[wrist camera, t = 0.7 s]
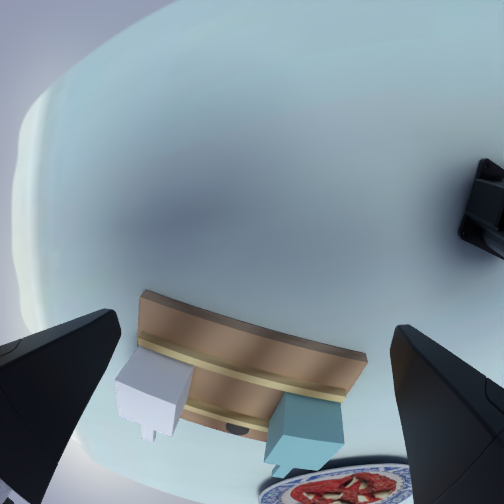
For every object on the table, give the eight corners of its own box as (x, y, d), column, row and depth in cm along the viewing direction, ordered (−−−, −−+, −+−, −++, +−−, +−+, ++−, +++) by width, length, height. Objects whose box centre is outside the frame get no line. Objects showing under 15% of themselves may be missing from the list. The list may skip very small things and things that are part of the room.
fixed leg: (195, 362, 23) (176, 404, 19) (184, 419, 27) (169, 455, 22) (141, 342, 23) (114, 379, 19) (140, 402, 27) (121, 435, 22)
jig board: (365, 353, 23) (370, 370, 21) (305, 441, 28) (305, 456, 26) (146, 289, 23) (134, 302, 21) (141, 393, 28) (133, 407, 26)
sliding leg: (339, 399, 23) (344, 443, 18) (302, 448, 26) (301, 486, 21) (286, 388, 23) (283, 434, 18) (258, 440, 26) (251, 478, 22)
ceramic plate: (401, 428, 26) (406, 447, 23) (431, 483, 31) (434, 495, 29) (226, 477, 34) (222, 493, 31) (305, 519, 39) (305, 531, 36)
